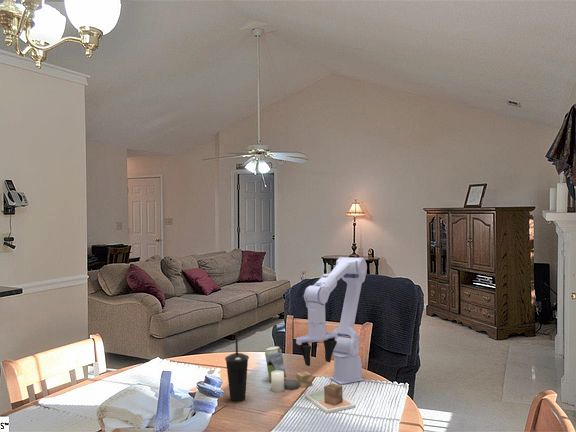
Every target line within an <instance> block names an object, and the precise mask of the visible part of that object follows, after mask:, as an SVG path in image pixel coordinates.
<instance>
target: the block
mask: <svg viewBox="0 0 576 432" xmlns="http://www.w3.org/2000/svg"><path fill="white" fill-rule="evenodd" d="M323 391H324V402H325V403H327V404H330V405H334V406H335V405H338V404H340V403H342V402H343V397H344V396H343V386H342V385H341V384H338V383H337V384H336V383H329V384H327V385H325V386H323Z"/></svg>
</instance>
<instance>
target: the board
mask: <svg viewBox="0 0 576 432" xmlns="http://www.w3.org/2000/svg"><path fill="white" fill-rule="evenodd" d="M304 398H305V399H307V400H308V401H309V402H311V403H312V404H313V405H314V406H316V407H318V408H319V409H320V410H322V411H323V412H324V413H326V414H330V413H335V412H341V411H345V410H344V409H346V410H350V409H349V408H351V409H354V408H355V409H356V404H355V403H354V402H351V401H350V400H348V399H347V398H345V397H344V396H343V402H342V403H340V404H338V405H335V406H334V405H330V404H327V403H325V402H324V390H323V391H316V392H313V393H312V392H311V393H308V394H304ZM340 410H341V411H340Z"/></svg>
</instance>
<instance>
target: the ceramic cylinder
mask: <svg viewBox="0 0 576 432" xmlns="http://www.w3.org/2000/svg"><path fill="white" fill-rule="evenodd" d="M284 381H285V378H284V371H281V370H275V371H272V372H271V380H270V382H271V385H270V386H271V387H270V388H271V391H272V392H274V393H282V392H284V391H285V389H284Z"/></svg>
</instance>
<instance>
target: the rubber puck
mask: <svg viewBox="0 0 576 432" xmlns="http://www.w3.org/2000/svg"><path fill="white" fill-rule="evenodd" d="M299 387H300V386H298V381H297V379H288V380H284V390H287V391H295V390H298V389H299Z"/></svg>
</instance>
